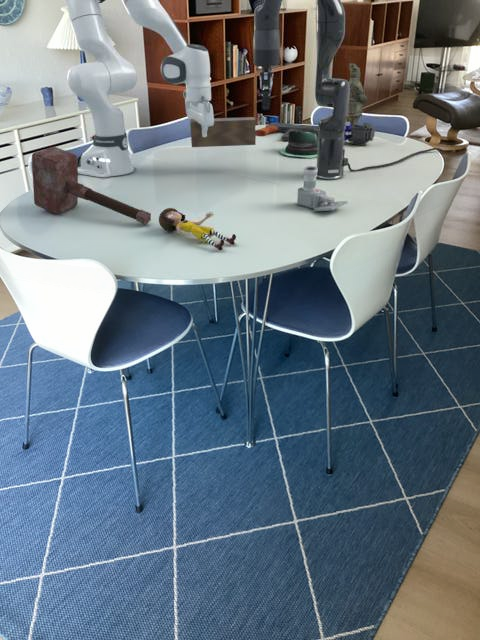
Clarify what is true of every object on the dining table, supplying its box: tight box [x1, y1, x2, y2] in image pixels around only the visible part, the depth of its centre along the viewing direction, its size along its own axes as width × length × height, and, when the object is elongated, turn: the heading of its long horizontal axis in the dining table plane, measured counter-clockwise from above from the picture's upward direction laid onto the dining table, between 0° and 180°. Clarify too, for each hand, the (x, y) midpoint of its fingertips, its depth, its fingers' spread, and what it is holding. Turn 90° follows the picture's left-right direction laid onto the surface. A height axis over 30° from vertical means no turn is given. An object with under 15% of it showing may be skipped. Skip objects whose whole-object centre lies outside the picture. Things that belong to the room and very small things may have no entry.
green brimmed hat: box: [279, 128, 318, 159], centre depth 234 cm, size 15×19×20 cm
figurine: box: [158, 207, 237, 251], centre depth 153 cm, size 13×8×25 cm
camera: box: [296, 165, 349, 212], centre depth 171 cm, size 9×12×15 cm
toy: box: [344, 122, 376, 146], centre depth 244 cm, size 9×9×15 cm
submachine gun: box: [255, 122, 319, 141], centre depth 263 cm, size 32×3×25 cm
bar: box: [189, 116, 257, 148], centre depth 206 cm, size 24×5×9 cm, turn 94°
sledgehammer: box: [31, 146, 152, 226], centre depth 169 cm, size 17×10×40 cm
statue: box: [345, 62, 368, 127], centre depth 262 cm, size 11×9×30 cm
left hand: (200, 134), depth 206 cm, fingers closed on bar, 6 cm apart
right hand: (266, 107), depth 167 cm, fingers open, 8 cm apart
